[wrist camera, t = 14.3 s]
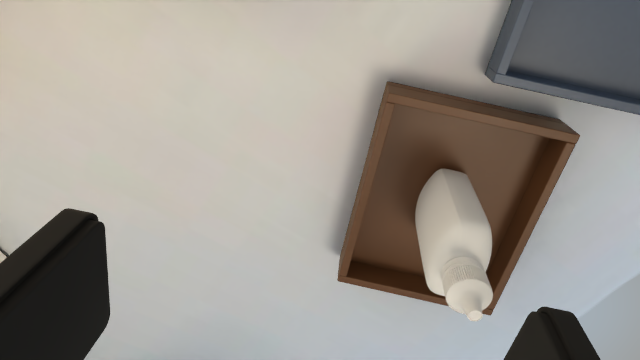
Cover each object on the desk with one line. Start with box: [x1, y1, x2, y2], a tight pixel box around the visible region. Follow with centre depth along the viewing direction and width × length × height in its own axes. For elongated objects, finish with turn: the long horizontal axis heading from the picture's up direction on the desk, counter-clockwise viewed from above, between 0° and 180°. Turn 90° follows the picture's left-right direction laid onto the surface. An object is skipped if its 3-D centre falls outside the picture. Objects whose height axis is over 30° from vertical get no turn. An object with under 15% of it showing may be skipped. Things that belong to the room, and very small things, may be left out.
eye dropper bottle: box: [415, 169, 493, 321], centre depth 27 cm, size 4×6×12 cm
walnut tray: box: [338, 82, 580, 315], centre depth 32 cm, size 15×12×3 cm
